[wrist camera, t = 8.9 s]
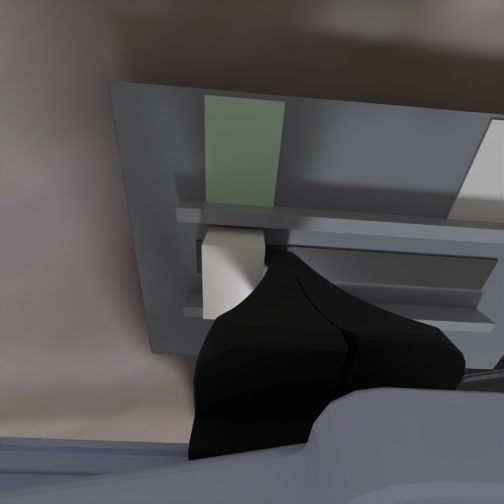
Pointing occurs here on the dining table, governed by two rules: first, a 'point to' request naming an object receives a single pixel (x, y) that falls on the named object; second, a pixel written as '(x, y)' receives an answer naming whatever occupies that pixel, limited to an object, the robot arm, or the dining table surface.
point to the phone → (483, 379)
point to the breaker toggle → (230, 267)
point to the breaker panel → (318, 203)
